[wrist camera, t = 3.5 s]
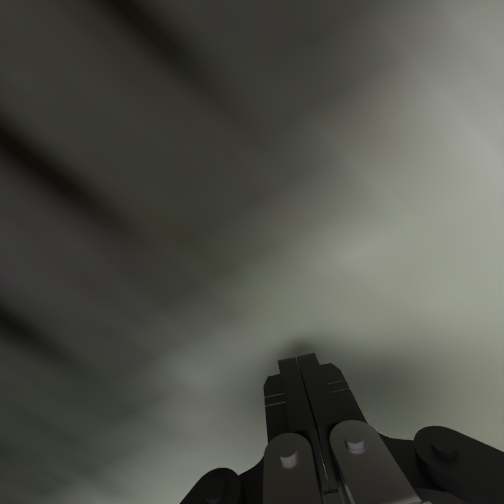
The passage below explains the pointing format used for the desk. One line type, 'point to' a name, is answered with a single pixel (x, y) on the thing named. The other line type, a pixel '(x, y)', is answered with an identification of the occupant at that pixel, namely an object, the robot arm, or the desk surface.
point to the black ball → (333, 498)
